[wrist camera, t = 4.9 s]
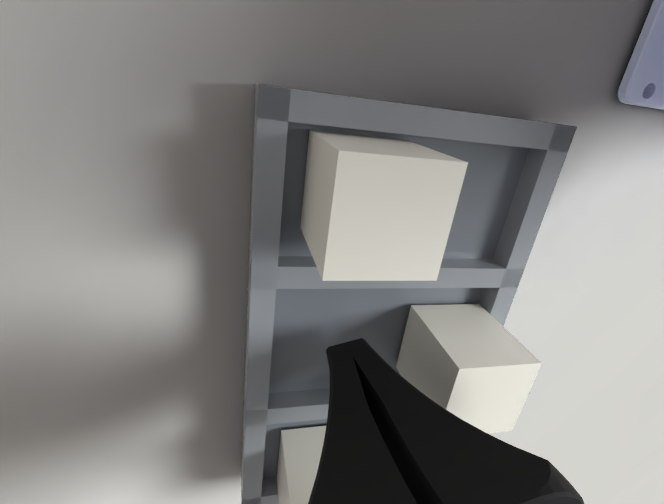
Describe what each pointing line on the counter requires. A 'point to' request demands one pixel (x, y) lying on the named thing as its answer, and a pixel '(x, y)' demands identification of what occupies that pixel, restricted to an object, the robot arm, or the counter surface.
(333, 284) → the grey divided tray
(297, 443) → the off-white rectangular block
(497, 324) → the cream rectangular block
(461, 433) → the robot arm
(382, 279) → the off-white rectangular block
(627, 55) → the counter surface
